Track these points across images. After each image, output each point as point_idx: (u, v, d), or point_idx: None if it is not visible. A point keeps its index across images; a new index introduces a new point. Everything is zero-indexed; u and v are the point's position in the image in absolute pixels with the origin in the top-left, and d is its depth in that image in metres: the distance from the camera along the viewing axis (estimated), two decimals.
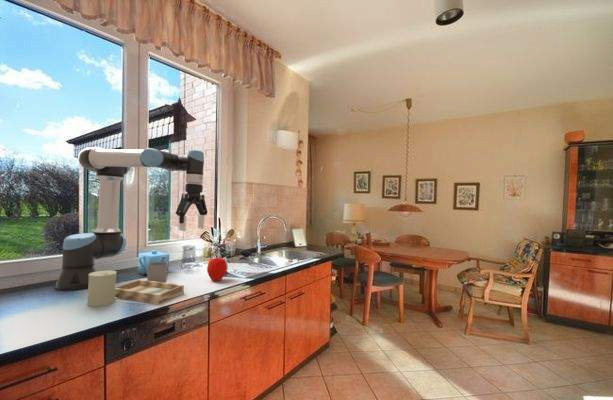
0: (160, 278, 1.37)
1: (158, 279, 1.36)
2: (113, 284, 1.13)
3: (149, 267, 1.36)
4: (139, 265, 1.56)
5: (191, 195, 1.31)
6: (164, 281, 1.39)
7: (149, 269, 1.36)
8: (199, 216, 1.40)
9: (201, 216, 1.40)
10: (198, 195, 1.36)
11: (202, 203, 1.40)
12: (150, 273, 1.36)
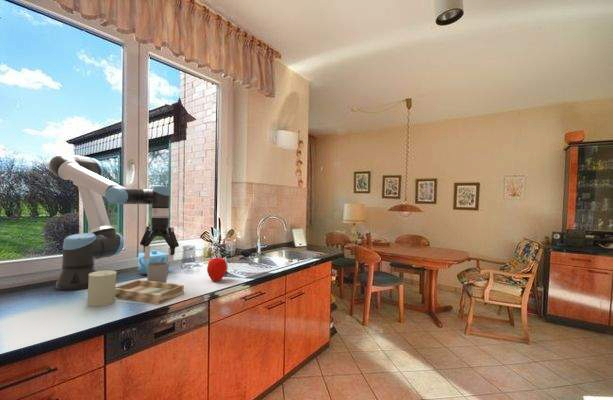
0: (160, 278, 1.37)
1: (158, 279, 1.36)
2: (113, 284, 1.13)
3: (149, 267, 1.36)
4: (139, 265, 1.56)
5: (152, 228, 1.40)
6: (164, 281, 1.39)
7: (149, 269, 1.36)
8: None
9: None
10: (161, 228, 1.38)
11: None
12: (150, 273, 1.36)
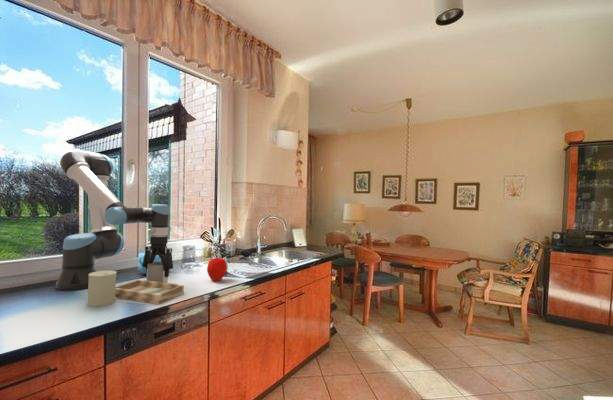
0: (160, 278, 1.37)
1: (158, 279, 1.36)
2: (113, 284, 1.13)
3: (149, 267, 1.36)
4: (139, 265, 1.56)
5: (151, 246, 1.40)
6: None
7: (149, 269, 1.36)
8: None
9: None
10: (160, 246, 1.38)
11: None
12: (150, 273, 1.36)
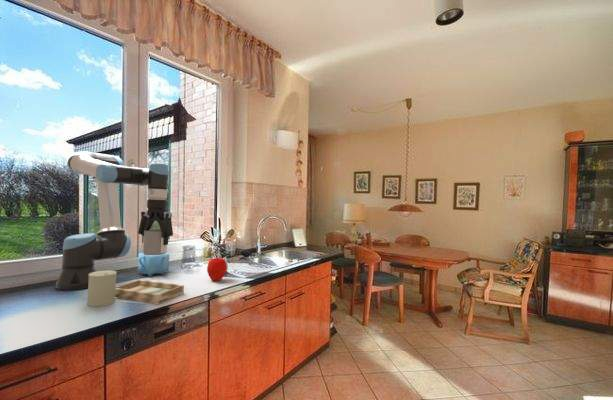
0: (159, 246, 1.22)
1: (156, 247, 1.21)
2: (113, 284, 1.13)
3: (146, 233, 1.21)
4: (139, 265, 1.56)
5: (148, 211, 1.24)
6: None
7: (146, 235, 1.21)
8: None
9: None
10: (159, 211, 1.23)
11: None
12: (147, 240, 1.20)
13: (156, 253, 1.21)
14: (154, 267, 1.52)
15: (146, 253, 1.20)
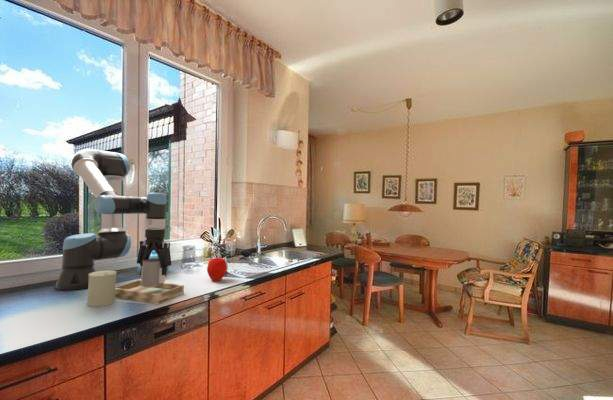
0: (157, 276, 1.21)
1: (154, 277, 1.20)
2: (113, 284, 1.13)
3: (144, 264, 1.20)
4: (139, 265, 1.56)
5: (146, 241, 1.24)
6: None
7: (144, 266, 1.20)
8: None
9: None
10: (157, 240, 1.22)
11: None
12: (145, 270, 1.20)
13: (154, 283, 1.20)
14: None
15: (144, 284, 1.20)
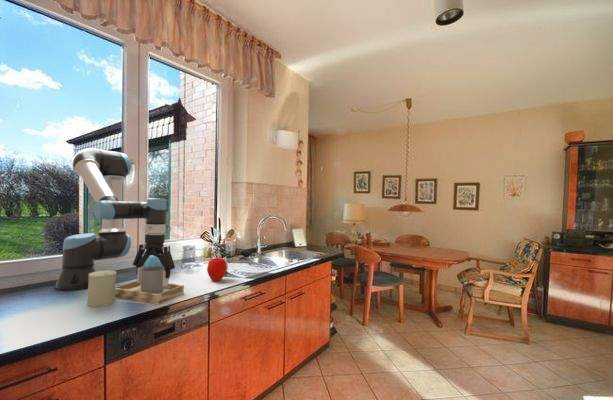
0: (156, 285, 1.21)
1: (153, 286, 1.21)
2: (113, 284, 1.13)
3: (143, 273, 1.20)
4: None
5: (146, 246, 1.24)
6: (160, 288, 1.23)
7: (143, 275, 1.20)
8: None
9: None
10: (156, 246, 1.22)
11: None
12: (144, 280, 1.20)
13: None
14: None
15: None
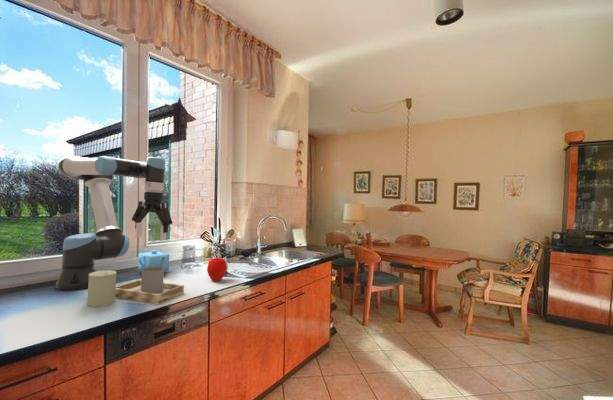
0: (156, 285, 1.21)
1: (153, 287, 1.21)
2: (113, 284, 1.13)
3: (143, 273, 1.20)
4: (139, 265, 1.56)
5: (145, 203, 1.30)
6: (160, 288, 1.23)
7: (143, 275, 1.20)
8: None
9: None
10: (155, 203, 1.29)
11: None
12: (144, 280, 1.20)
13: None
14: None
15: None
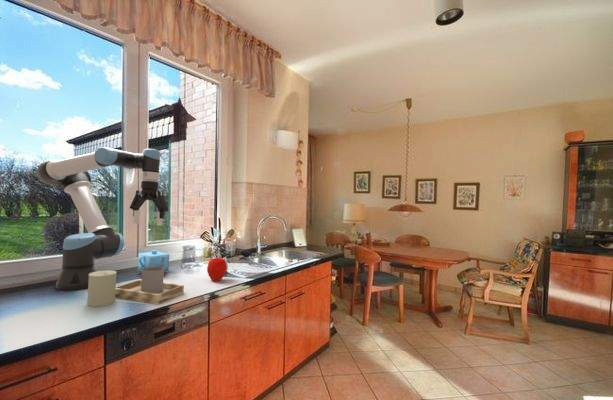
0: (156, 285, 1.21)
1: (153, 287, 1.21)
2: (113, 284, 1.13)
3: (143, 273, 1.20)
4: (139, 265, 1.56)
5: (142, 191, 1.40)
6: (160, 288, 1.23)
7: (143, 275, 1.20)
8: None
9: None
10: (151, 191, 1.39)
11: None
12: (144, 280, 1.20)
13: None
14: None
15: None
